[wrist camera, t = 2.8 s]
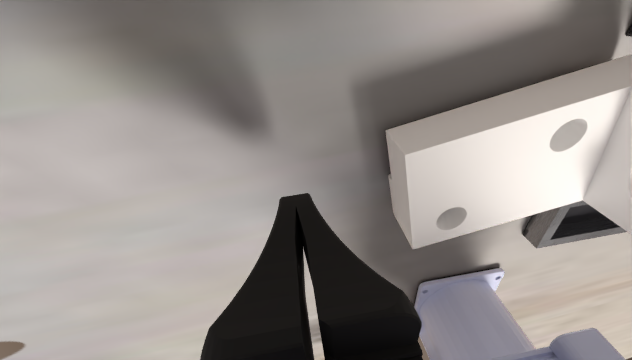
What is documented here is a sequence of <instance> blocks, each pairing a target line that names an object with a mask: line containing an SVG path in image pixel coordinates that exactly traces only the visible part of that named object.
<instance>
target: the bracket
mask: <svg viewBox="0 0 632 360" xmlns="http://www.w3.org/2000/svg"><path fill="white" fill-rule="evenodd" d="M386 138H387V146H388V154H389V162H390V170H391V174H389V175H388V178H389V185H390V192H391V200H392V207H393V214H394V216H395V218H396V219H397V221H398V223H399V225H400V227H401V229H402V231H403V232H404V234H405V236H406V238H407V240H408V242H409V243H410V245H411V247H412V249H417V248H420V247H424V246H427V245H431V244H434V243H438V242H441V241H444V240H448V239H451V238H455V237H458V236H462V235H465V234H469V233H472V232H475V231H479V230H482V229H486V228H489V227H493V226H496V225H500V224H503V223H506V222H510V221H513V220H517V219H520V218H524V217H527V216H531V215H534V214H537V213H541V212H544V211H548V210H551V209H555V208H558V207H562V206H565V205H568V204H572V203H575V202H579V201H582V200H583V201H584V202H586V203H587V204H588V205H590V206H591V207H593V208H594V209H596V210H597V211H598V212H600V213H601V214H603V215H604V216H606V217H607V218H608V219H610V220H611V221H613V222H614V223H616V224H617V225H618V226H620V227H621V228H623V229H624V230H626V231H627V232H628V233H630V234H631V235H632V55H627V56H623V57H620V58H617V59H614V60H611V61H607V62H604V63H601V64H598V65H594V66H591V67H588V68H585V69H582V70H578V71H575V72H572V73H569V74H565V75H562V76H559V77H556V78H553V79H549V80H546V81H543V82H540V83H536V84H533V85H530V86H527V87H524V88H520V89H517V90H514V91H511V92H507V93H504V94H501V95H498V96H495V97H491V98H488V99H485V100H482V101H478V102H475V103H472V104H469V105H466V106H462V107H459V108H456V109H453V110H449V111H446V112H443V113H440V114H437V115H433V116H430V117H427V118H424V119H420V120H417V121H414V122H411V123H408V124H404V125H401V126H398V127H395V128H391V129H388V130H386Z"/></svg>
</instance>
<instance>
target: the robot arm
mask: <svg viewBox="0 0 632 360" xmlns="http://www.w3.org/2000/svg"><path fill="white" fill-rule="evenodd" d="M303 248H304V252H305V256H306V260H307V264H308V268H309V272H310V276H311V280H312V284H313V288H314V294H315V301H316V307H317V314H318V320H319V326H320V332H321V338H322V344H323V350H324V357H325V360H423V359H422V350H421V348H420V345H419V343H418V338H419V335H420V338H421V340H422V342H423V345H424V347H425V349H426V352H427V354H428V356H429V359H430V360H625V359H624V358H623V356H622V355H621V354H620V353H619V352H618V351H617V350H616V349H615V348H614V347H613V346H612V345H611V344H610V343H609V342H608V341H607V340H606V338H605V337H604V336H603V335H602V334H601V333H600V332H599V331H598V330H597V329H595V328H589V329H585V330H580V331H575V332H570V333H566V334H563V335H560V336H558V337H557V338H555V339H554V340H553V341H552V342H551V344H550V346H549V347H544V348H539V349H536V348H535V347H534V345H533V344H532V342H531V341H530V340H529V338H528V337H527V336H526V334H525V333H524V332H523V330H522V329H521V327H520V326H519V325H518V323H517V322H516V321H515V319H514V318H513V316H512V315H511V314H510V312H509V311H508V310H507V308H506V307H505V305H504V304H503V303H502V301H501V300H500V299H499V297H498V296H497V295H496V293H495V291H496V289H497V287H498V285H499V283H500V281H501V279H502V277H503V276H504V273H505V272H504V271H503V269H502V268H497V269H491V270H486V271H481V272H475V273H470V274H465V275H459V276H454V277H449V278H443V279H438V280H433V281H427V282H423V283H421V284H420V285H419V288H418V292H417V297H416V301H415V305H414V306H413V305H412V303H411V302H410V300H409V299H408V297H407V296H406V294H405V293H404V292H403V291H402V290H401V289H399V288H397V287H396V286H394V285H393V284H391V283H390V282H388V281H387V280H386V279H384V278H383V277H381V276H380V275H379V274H377V273H376V272H375V271H373V270H372V269H371V268H370V267H369V266H367V265H366V264H365V263H364V262H363V261H361V260H360V259H359V258H358V257H357V256H356V255H355V254H354V253H353V252H352V251H351V250H349V249H348V248H347V246H346V245H345V244H344V243H343V242H342V241H341V240H340V239H339V238H338V237H337V236H336V234H335V233H334V232H333V231H332V230H331V228H330V227H329V226H328V224H327V223H326V222H325V220H324V219H323V217H322V216H321V214H320V213H319V211H318V210H317V208H316V206H315V204H314V203H313V201H312V198H311V196H310V194H308V193H305V194H299V195H293V196H287V197H282V198H281V199H280V201H279V207H278V211H277V215H276V218H275V221H274V224H273V227H272V230H271V233H270V235H269V238H268V240H267V242H266V245H265V247H264V249H263V251H262V253H261V255H260V257H259V259H258V261H257V263H256V265H255V266H254V268H253V270H252V272H251V273H250V275H249V277H248V278H247V280H246V281H245V283H244V284H243V286H242V287H241V289H240V290H239V291H238V293H237V294H236V296H235V297H234V298H233V300H232V301H231V303H230V304H229V305H228V306H227V308H226V309H225V310H224V311H223V312H222V314H221V315H220V316H219V317H218V318H217V320H216V321H215V322H214V323H213V324H212V326H211V327H210V328H209V331H208V333H207V336H206V339H205V343H204V346H203V350H202V354H201V359H200V360H314V355H313V348H312V341H311V334H310V327H309V319H308V312H307V305H306V297H305V281H304V258H303Z"/></svg>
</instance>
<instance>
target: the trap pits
mask: <svg viewBox="0 0 632 360" xmlns="http://www.w3.org/2000/svg"><path fill="white" fill-rule="evenodd" d="M626 36H632V24H631V26H630V28H629V30H628V32H627V34H626ZM623 232H627V231H626V230H624V229H623V228H621V227H620V226H618V225H617V224H616V223H614V222H613V221H611V220H610V219H608V218H607V217H606V216H604V215H603V214H601V213H600V212H598V211H597V210H596V209H594V208H593V207H591V206H590V205H588V204H587V203H586V202H584V201H583V200H582V201H579V202H575V203H572V204H568V205H565V206H562V207H558V208H555V209H551V210H548V211H544V212H541V213H537V214H534V215H532V217H531V219H530V221H529V223H528V225H527V227H526V229H525V231H524V233H523V235H524V236H525V237H526V238H527V239H528V240H529V241H530V242H531V243H532V244H533V245H534V246H535V247H536V248H542V247H547V246H552V245H558V244H563V243H569V242H574V241H580V240H585V239H590V238H596V237H601V236H607V235H612V234H618V233H623Z"/></svg>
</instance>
